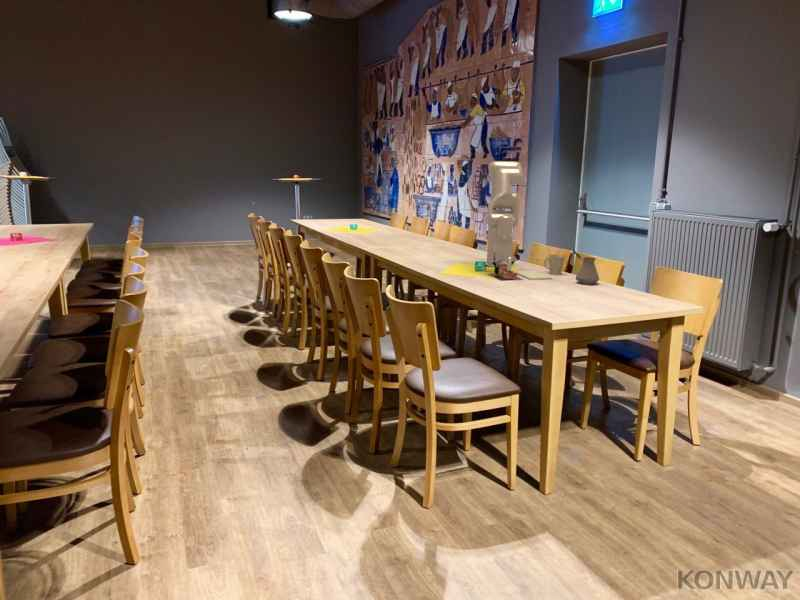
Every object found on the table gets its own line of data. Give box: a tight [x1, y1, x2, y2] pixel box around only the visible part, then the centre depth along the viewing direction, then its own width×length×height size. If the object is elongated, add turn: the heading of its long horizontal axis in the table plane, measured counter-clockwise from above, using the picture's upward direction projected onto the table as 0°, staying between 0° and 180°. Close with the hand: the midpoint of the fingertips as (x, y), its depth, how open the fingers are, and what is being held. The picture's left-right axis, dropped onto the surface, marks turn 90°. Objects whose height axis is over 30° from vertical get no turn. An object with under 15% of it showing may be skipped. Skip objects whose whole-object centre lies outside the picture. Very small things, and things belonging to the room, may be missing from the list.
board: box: [512, 270, 553, 281], centre depth 325 cm, size 20×12×2 cm, turn 15°
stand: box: [487, 257, 525, 282], centre depth 321 cm, size 18×13×12 cm
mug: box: [543, 254, 565, 276], centre depth 340 cm, size 8×13×10 cm, turn 39°
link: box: [498, 263, 518, 279], centre depth 321 cm, size 14×6×5 cm, turn 15°
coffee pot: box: [571, 249, 600, 286], centre depth 318 cm, size 21×12×15 cm, turn 17°
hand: (502, 273), depth 326 cm, fingers closed on link, 5 cm apart
